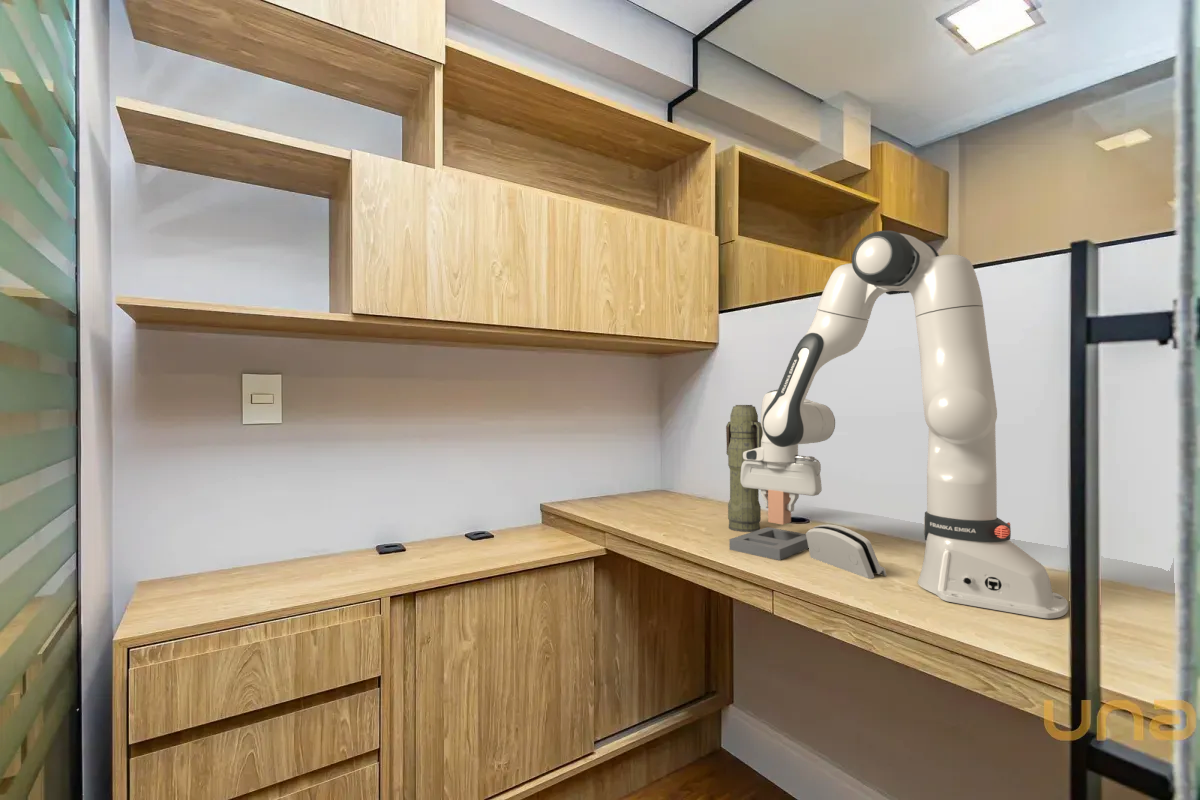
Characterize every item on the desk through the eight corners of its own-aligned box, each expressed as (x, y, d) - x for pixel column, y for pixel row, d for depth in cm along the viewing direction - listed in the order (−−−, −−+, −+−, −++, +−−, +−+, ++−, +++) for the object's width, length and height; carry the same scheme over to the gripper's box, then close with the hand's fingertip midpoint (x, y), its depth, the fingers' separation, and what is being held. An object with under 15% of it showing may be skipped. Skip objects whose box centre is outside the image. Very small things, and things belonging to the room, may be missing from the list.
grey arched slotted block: (888, 576, 112) (875, 531, 111) (872, 586, 110) (859, 541, 109) (826, 555, 127) (815, 515, 126) (811, 564, 126) (799, 524, 124)
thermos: (735, 522, 162) (735, 404, 162) (771, 529, 153) (770, 404, 153) (717, 527, 156) (717, 404, 156) (753, 534, 147) (753, 405, 148)
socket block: (815, 545, 136) (815, 535, 136) (779, 560, 123) (779, 549, 123) (767, 536, 145) (767, 527, 145) (729, 549, 132) (729, 539, 132)
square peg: (790, 522, 136) (790, 490, 136) (783, 524, 133) (783, 491, 134) (776, 519, 139) (776, 488, 139) (768, 522, 136) (768, 490, 136)
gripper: (826, 456, 131) (826, 513, 131) (749, 450, 146) (750, 502, 146) (814, 457, 127) (814, 517, 127) (737, 452, 141) (737, 505, 141)
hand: (779, 509), depth 136 cm, fingers closed on square peg, 4 cm apart
